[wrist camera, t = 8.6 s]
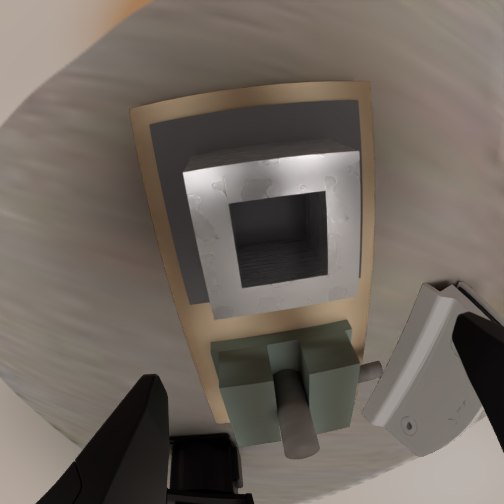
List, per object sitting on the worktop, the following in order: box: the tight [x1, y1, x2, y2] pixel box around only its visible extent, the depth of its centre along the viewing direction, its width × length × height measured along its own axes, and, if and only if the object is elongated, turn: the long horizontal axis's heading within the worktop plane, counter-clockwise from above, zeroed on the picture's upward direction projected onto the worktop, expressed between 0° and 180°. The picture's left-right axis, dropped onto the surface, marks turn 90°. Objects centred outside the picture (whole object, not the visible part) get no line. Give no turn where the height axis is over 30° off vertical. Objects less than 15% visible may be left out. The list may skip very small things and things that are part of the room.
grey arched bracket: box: [361, 282, 504, 457], centre depth 23 cm, size 17×5×10 cm, turn 173°
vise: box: [129, 81, 383, 459], centre depth 17 cm, size 12×24×9 cm, turn 7°
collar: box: [183, 138, 361, 320], centre depth 14 cm, size 6×6×4 cm
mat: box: [149, 100, 363, 305], centre depth 16 cm, size 10×10×1 cm
